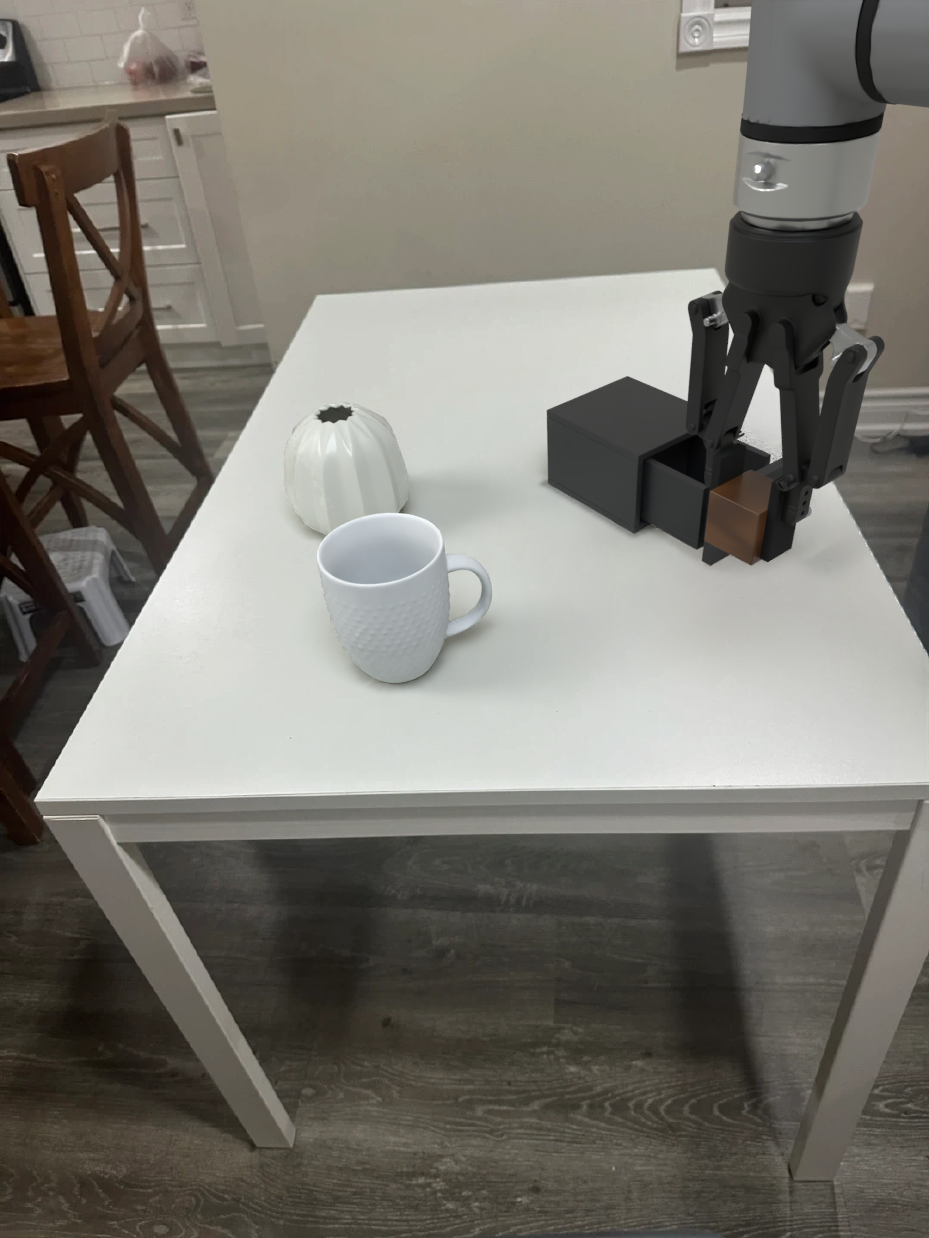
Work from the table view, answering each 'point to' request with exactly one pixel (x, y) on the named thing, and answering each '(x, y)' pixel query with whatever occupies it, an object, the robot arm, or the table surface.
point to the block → (739, 516)
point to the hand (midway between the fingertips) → (747, 538)
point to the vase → (343, 467)
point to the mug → (393, 593)
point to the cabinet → (612, 445)
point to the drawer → (690, 491)
